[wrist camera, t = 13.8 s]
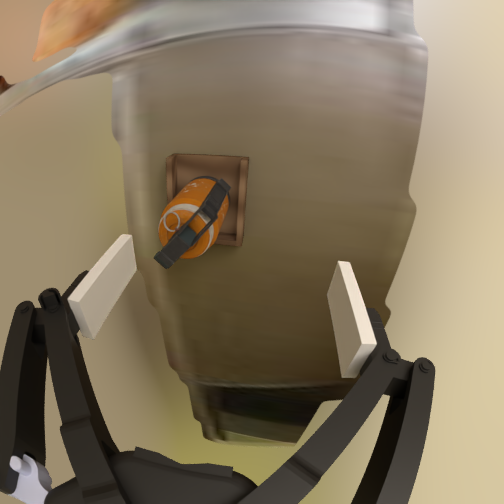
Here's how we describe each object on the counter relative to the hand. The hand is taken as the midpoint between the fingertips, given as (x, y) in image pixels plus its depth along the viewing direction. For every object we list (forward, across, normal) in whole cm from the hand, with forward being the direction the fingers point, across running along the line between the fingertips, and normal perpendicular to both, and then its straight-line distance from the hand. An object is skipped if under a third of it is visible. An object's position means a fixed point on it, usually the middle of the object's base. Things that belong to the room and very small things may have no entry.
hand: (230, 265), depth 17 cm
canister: (+34, -8, -9) cm, 36 cm away
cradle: (+35, -8, -9) cm, 37 cm away
